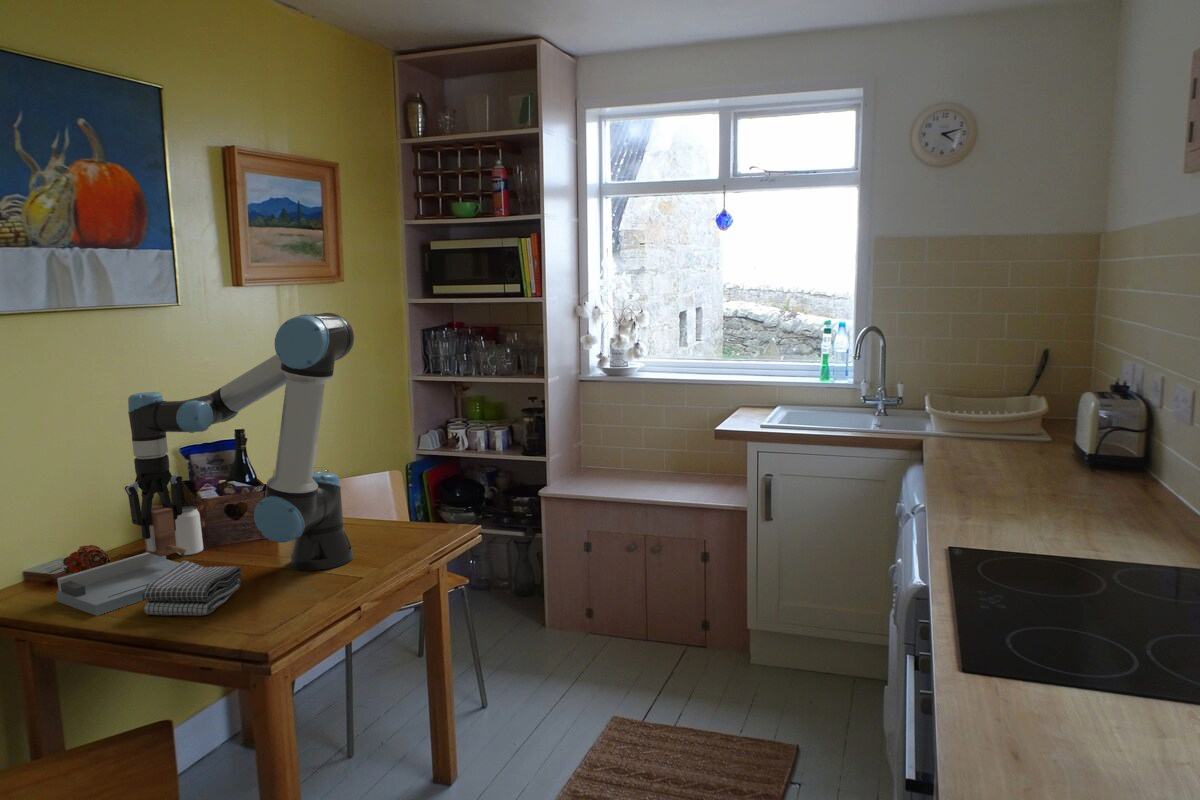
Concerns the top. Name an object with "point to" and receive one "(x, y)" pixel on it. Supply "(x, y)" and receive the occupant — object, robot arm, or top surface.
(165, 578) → the towel
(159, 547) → the brown blocky piece
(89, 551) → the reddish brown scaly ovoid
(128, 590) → the board
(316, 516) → the robot arm
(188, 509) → the can
